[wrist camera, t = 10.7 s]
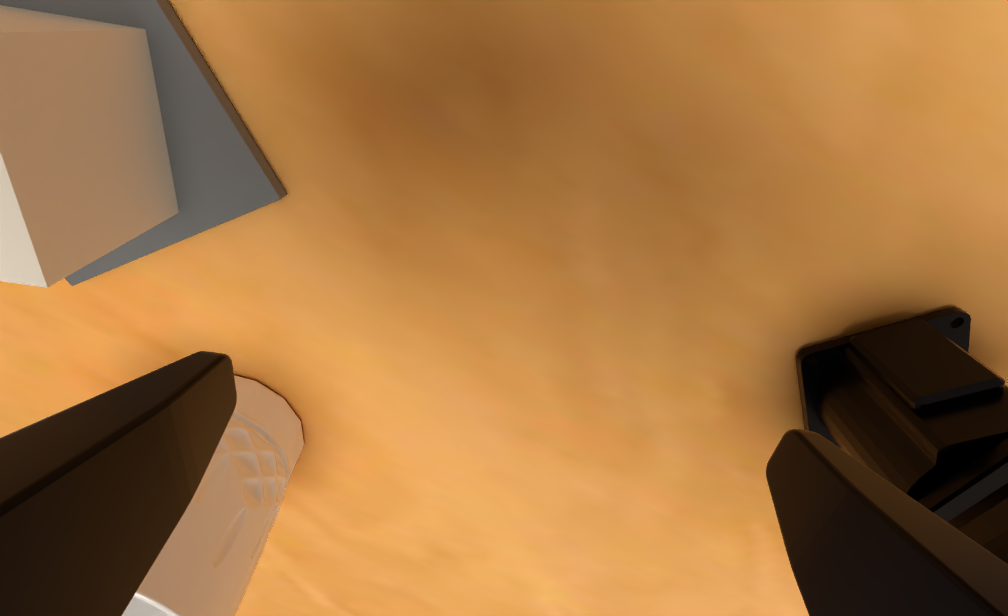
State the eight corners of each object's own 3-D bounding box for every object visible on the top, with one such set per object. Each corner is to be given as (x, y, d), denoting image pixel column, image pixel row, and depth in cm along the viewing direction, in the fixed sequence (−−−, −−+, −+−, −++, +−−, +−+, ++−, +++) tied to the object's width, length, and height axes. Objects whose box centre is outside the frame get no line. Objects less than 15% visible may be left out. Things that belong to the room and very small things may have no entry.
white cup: (287, 499, 27) (181, 722, 19) (138, 443, 25) (-57, 662, 17) (340, 405, 24) (241, 625, 15) (173, 332, 22) (-51, 535, 13)
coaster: (286, 194, 19) (280, 199, 18) (83, 279, 21) (72, 285, 20) (87, -130, 14) (71, -136, 14) (-150, 19, 16) (-172, 19, 16)
